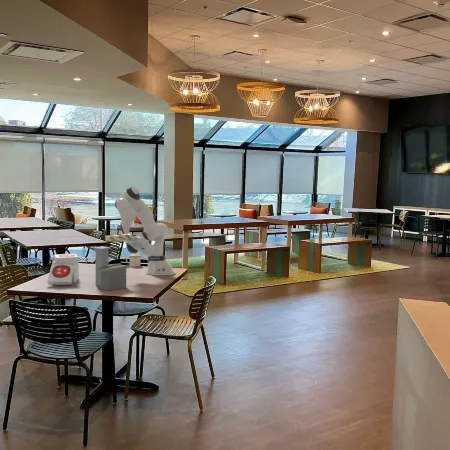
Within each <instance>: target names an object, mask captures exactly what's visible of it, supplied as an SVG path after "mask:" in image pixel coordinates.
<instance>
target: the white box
mask: <svg viewBox="0 0 450 450" xmlns="http://www.w3.org/2000/svg"><path fill="white" fill-rule="evenodd" d="M79 258H80V257H79V256H78V254H76V253H62V254H61V253H60V254H58V253H57V254H53V261H52V262H51V263H52V264H51V266H50V270H49V274H48V277H47V284H48V285H49V286H50V285H52V286H53V285H58V286H59V285H61V286H62V285H66V286H68V285H69V286H70V285H72V284H75V283H76V282H77V281H78V280H79V278H80V272H79V269H80V268H79V267H80V265H79V264H80V263H79V262H80V261H79V260H80V259H79Z"/></svg>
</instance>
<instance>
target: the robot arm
mask: <svg viewBox="0 0 450 450" xmlns="http://www.w3.org/2000/svg"><path fill="white" fill-rule="evenodd" d="M114 206H115V208H116V210H117V212H118V214H119V216H120V229H121V233H122V234H131V232H130V228H131V226H132V224H133V223H134V222H135V220H136V218H138V219H139V221H140V223H141V224H142V228H143V231H142V232H140V233H139V234H137V235H136V236H132V235H128V237H129V238H131V239H123V240H121V241H122V242H123V243H125V245H126V250H127V251H128V252H129V253H130V254H133V253H137V254H138V252H140V253H141V254H142V255H144V256H146V257H147V268H146V275H151V276H174V275H175V274H176V270H173V265H172V264H171V263H170V262H168V261H167V260H166V259H167V256H165V255H164V254H163V253H164V242H165V238H166V236H167V234H168V232H169V228H168V226H167V224H165V223H163V222H156V221H155V220H154V213H153V212H152V211H151V209H150V208H149V206H148V205H147V204H146V202H145V201H144V200H142V199H141V196H140V192H139V190H138V189H137V188H136V187H135V186H129V187H127V188H126V189H125V190H124V191H122V193H121V194H120V195H119V197H118V198H117V199H115V202H114Z"/></svg>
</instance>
